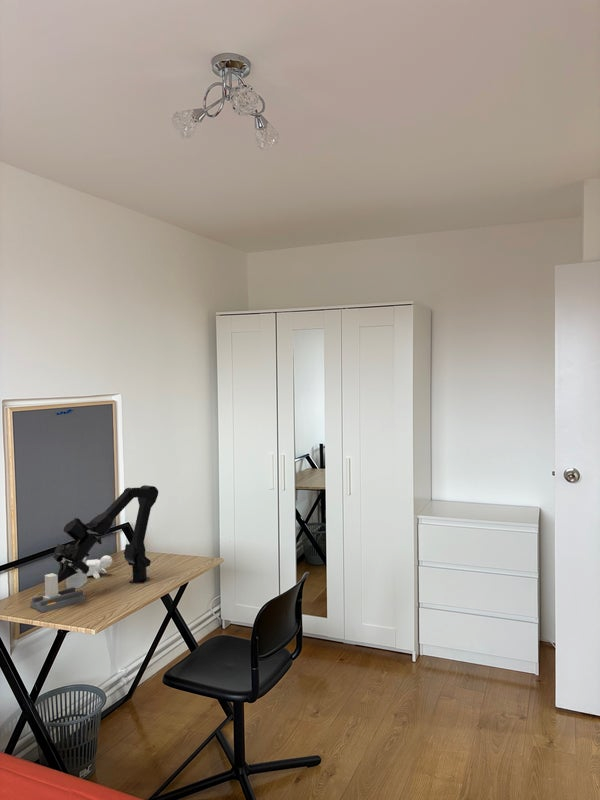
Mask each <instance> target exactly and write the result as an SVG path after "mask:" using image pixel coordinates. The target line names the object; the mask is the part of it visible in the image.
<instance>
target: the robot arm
mask: <svg viewBox="0 0 600 800" xmlns="http://www.w3.org/2000/svg"><path fill="white" fill-rule="evenodd" d="M158 496H159V489H158V488H157V487H156V486H154V485H145V484H144V485H141V486H140V487H125V489H124V490H123V491H122V493H121V494H119V496H118V497H117V498H116V499H115V500H114V501H113V502H112V504H110V505H109V506H108V507H107V509H106V510H105V511H104V512H102V513H100V514H98V515H96V516H95V517H94V518H93V519H91V520H90V522H86V523H83V522H82V520H81V519H80V518H78V517H74V518H73V520H70V521H69V522H68V523H66V525H65V526H64V528H63V532H64V533H65V534H66V535H67V536H68V537H70V538H71V539H72V540H73V541H77V543H75V544H69V543H68V544H67V545H62V544H59V543H58V544H57V545H56V546H55V550H54V555H53V556H52V559H53V560H55V561H56V563H58V565H59V570H58V573H57V575H58V584H60V583H62V582H63V581H66V579H67V578H68V577H70V576H72V575H74V574H76V573H78V572H77V570H78V569H80V570H81V571H82V573H84V574H87V573H88V571H89V566H88V565H86V564H85V563H84V562H83V559H84V558H88V557H89V556H90V554H89V553H90V551H91V550H92V549H93V548H94V546H95V545H96V544H98V545H102V538H101V536H103V535H106V534H107V533H108V532H109V530H110V529H111V527H112V526H113V522H114V521H115V519H116V518H117V517H118V515H119V514H121V512H122V511H124V509H125V508H126V507H127V506H128V505H129V504H130V503H131V502H132V500H133V499H134V498H136V499H137V502H138V510H137V514H136V515H137V516H136V518H135V519H136V520H135V525H134V530H133V533H132V540H131V541H130V542H129V544H128V543H126V544H125V546H124V551H123V555H124V557H123V558H124V559H125V561H126V562H127V564H128V566H131V568H132V569H131V571H132V575H131V577H132V579H130V580H129V583H138V584H139V583H141V584H142V583H145V582H147V581H148V580H150V578H151V577H150V576H147V573H148V571H147V568H148V567H150V566H151V562H152V561H151V559H149V558H148V557H147V556H146V547H145V546H146V545H145V537H146V534H147V529H148V525H149V520H150V514H151V509H152V507H153V506H154V505H155V503H156V502H157V499H158ZM95 534H96V535H95ZM97 535H101V536H97Z"/></svg>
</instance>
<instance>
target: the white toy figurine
mask: <svg viewBox="0 0 600 800" xmlns="http://www.w3.org/2000/svg"><path fill="white" fill-rule="evenodd" d="M86 561H87V565H88V566H89V571H88V573H87V577H92V576H93V578H94V579H96V580H98V579H100V577H101V576H100V574H107V570H106V569H105V568H108V567H110V566H111V565H112V564H113V558H112V557H111V556H110V555H103V556H101V557H100V559H99V558H96V559H86ZM99 573H100V574H99Z"/></svg>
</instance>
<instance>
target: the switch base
mask: <svg viewBox="0 0 600 800" xmlns="http://www.w3.org/2000/svg"><path fill="white" fill-rule="evenodd" d="M58 594H60V595H61V596H57V597H53V598H50V599H46V600H43V596H45V594H41V595H38V596H34V597H31V601H30V608H33V609H35V610H37V611H39V612H41V613H47V612H49V611H53V610H57V609H60V608H64V607H67V606H71V605H74V604H77V603H81V602H85V600H86V596H85V594H84V590H83V589H79V590H76V588H75V587H71V588H67V587H66V588H64V589H59V590H58Z"/></svg>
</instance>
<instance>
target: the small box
mask: <svg viewBox="0 0 600 800" xmlns="http://www.w3.org/2000/svg"><path fill="white" fill-rule="evenodd" d="M83 562H84V563H85V564H86V565H87V557H85V558H84V559H83ZM77 572H78V573H76V574H74V575H72V576H70V577H68V578H67V579H65V582H66V584H65V585H66V586H65V587H66V589H67V588H71V587H75V589H81V588H82V587H83V586H84V585H85V584H86V583H88V576H87V574H84V573H82V571H81V570H80V569H78V570H77Z"/></svg>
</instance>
